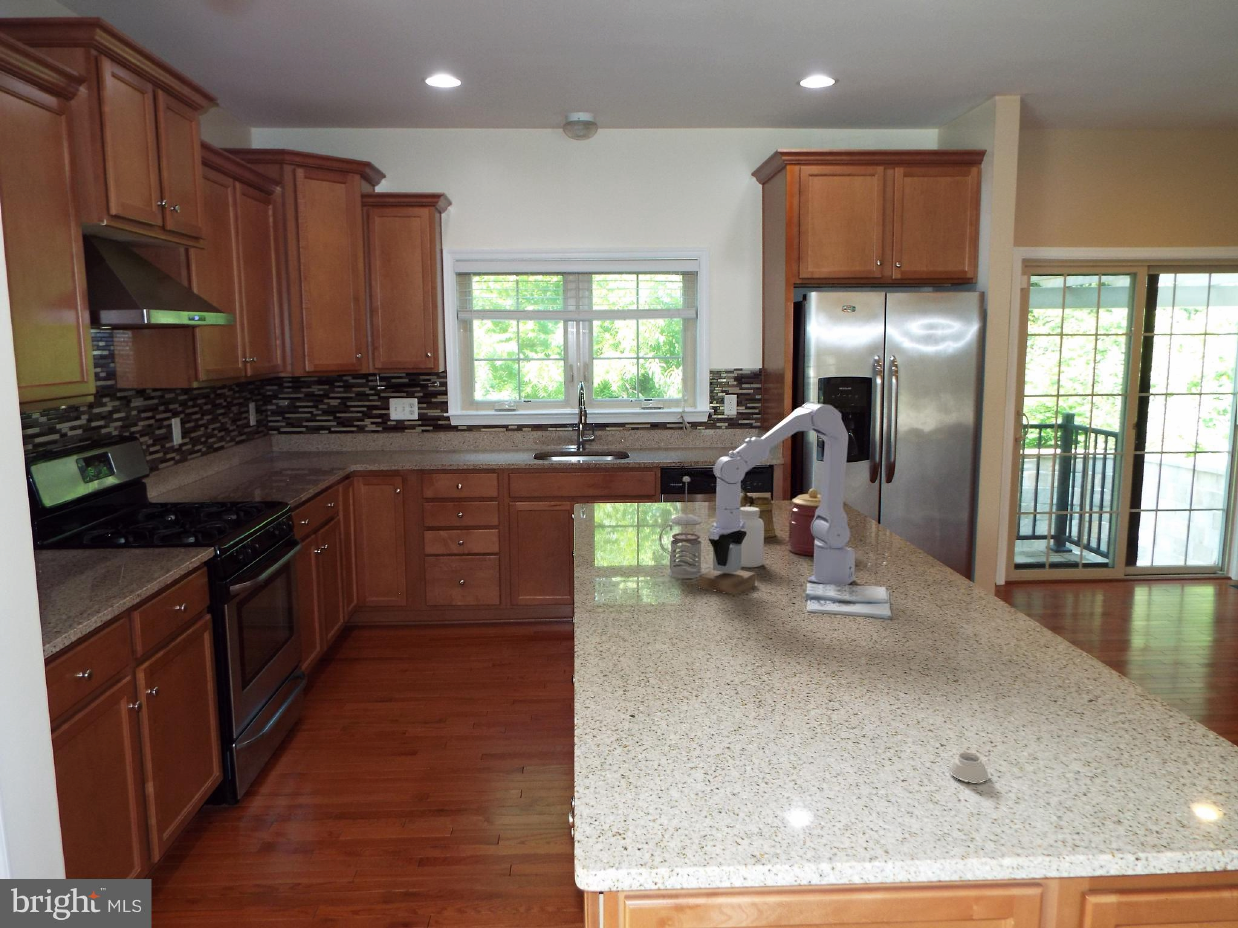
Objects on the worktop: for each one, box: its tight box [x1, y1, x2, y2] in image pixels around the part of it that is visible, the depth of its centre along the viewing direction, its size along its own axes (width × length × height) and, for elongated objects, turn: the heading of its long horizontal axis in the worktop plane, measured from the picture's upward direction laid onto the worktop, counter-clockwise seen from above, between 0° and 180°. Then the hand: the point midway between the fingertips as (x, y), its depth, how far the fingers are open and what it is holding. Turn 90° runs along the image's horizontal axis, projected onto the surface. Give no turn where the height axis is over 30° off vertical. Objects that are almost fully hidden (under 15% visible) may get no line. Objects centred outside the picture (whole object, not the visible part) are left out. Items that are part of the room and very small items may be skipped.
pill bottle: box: [740, 506, 765, 569], centre depth 226 cm, size 8×8×15 cm
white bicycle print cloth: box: [804, 582, 893, 620], centre depth 195 cm, size 19×20×2 cm
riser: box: [698, 569, 756, 596], centre depth 207 cm, size 10×10×3 cm
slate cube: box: [712, 543, 742, 573], centre depth 206 cm, size 5×5×6 cm
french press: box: [658, 476, 705, 579], centre depth 217 cm, size 10×12×25 cm
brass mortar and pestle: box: [740, 486, 777, 539], centre depth 259 cm, size 9×14×18 cm, turn 91°
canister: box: [787, 488, 821, 557], centre depth 240 cm, size 13×13×18 cm
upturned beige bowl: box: [948, 751, 989, 782], centre depth 119 cm, size 5×3×5 cm
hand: (727, 562), depth 206 cm, fingers closed on slate cube, 5 cm apart
